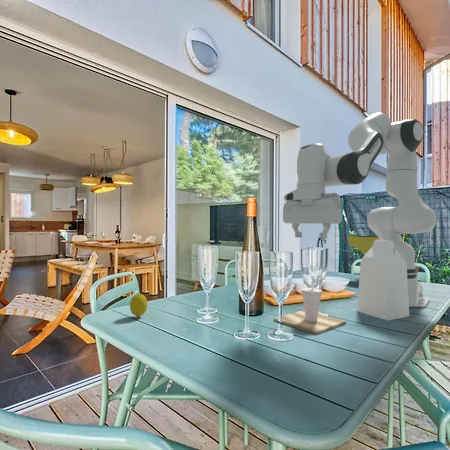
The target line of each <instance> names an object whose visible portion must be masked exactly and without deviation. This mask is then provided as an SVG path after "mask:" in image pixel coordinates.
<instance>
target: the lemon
mask: <svg viewBox="0 0 450 450" xmlns="http://www.w3.org/2000/svg"><path fill="white" fill-rule="evenodd" d="M129 308H130V312H131V313H132V314H133V315H134V316H136V317H137V318H140V317H141V316H143V315H144V314H145V313H146V312H147V308H148V299H147V298H146V296H145V295H144V294H141V292H137V294H134V295H133V297H131V299H130V303H129Z"/></svg>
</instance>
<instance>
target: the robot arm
mask: <svg viewBox="0 0 450 450" xmlns="http://www.w3.org/2000/svg"><path fill="white" fill-rule="evenodd" d="M423 127H424V126H423V124H422V123H421V122H420V121H419V120H418V119H415V118H411V119H410V118H409V119H404V120H401V121H396V122H392V119H391V118H390V117H389V115H387V114H385V113H383V112H376V113H372V114H370V115H368V116H366V117H365V118H363V119H362V120H361V121H359V123H357V124H356V125H355V126H354V127H353V128H352V129H351V130H350V132H349V134H348V136H347V144H348V147H349V148H350V150H351V152H347V153H343V154H338V155H334V156H332V155H329V154H328V152H326V151H325V146H324V144H322V143H319V142H317V143H312V144H311V143H310V144H307V145H304V146H301V147H300V148H299V150H298V153H297V160H296V175H297V183H296V188H295V189H294V190H292V191H290V192H288V193H286V194H285V195H284V196H283V200H284V201H285V202H284V203H283V207H282V221H283V223H284V224H291V226H292V227H291V228H292V229H293V232H294V237H295V238H302V237H303V235H302V234H303V232H302V231H300V229H299V227H300V224H319V225H320V224H322V227H323V230H322V232H319V239H326V240H327V238H328V233H329V232H330V229H331V228H332V226H331V224H336V225H337V224H338V225H339V224H341V222H342V221H343V213H342V206H341V205H342V197H341V195H339V194H337V192H332V193H331V192H330V193H326V188H327V187H338V186H345V185H360V184H362V183H363V182H364V180H365V179H366V178H367V176H368V175H369V172H370V169H371V166H372V164H374V162H375V160H376V159H377V157H378V156H379V155H386V154H388V158H387V161H386V163H387V164H386V170H385V171H386V173H385V174H386V175H385V192H386V194H387V195H389V196H391V197H392V198H395V199H396V200H397V204H398V205H397V206H381V207H378V208H377V207H376V208H375V209H371V210H370V211H369V212H368V214H367V217H366V223H367V226H368V228H369V229H370V230H371V231H372V232H373V233H374V234H375V236H378V237H379V239H380V240H389V241H393V244H394V246H395V249H396V250H397V251H398V252H399V253H400V255H401V256H402V257H403V258H404V259H405V261H406V264H407V280H408V299H409V308H411V307H413V308H426V306H427V305H428V304H429V302H430V298H429V297H426V296H424V287H423V285H422V284H421V282H420V281H419V280H418V278H417V277H418V275H417V274H419V268H418V267H417V268H416V266H415V265H416V260H415V259H416V251H415V249H414V247H413V246H412V245H411V244H409V243H407V242H405V241H404V240H403V238H402V234H411V235H412V234H414V235H417V234H423V233H430V232H432V230H433V229H434V228H435V227H436V224H437V218H438V217H437V215H436V212H435V210H433V209H432V208H431V207H430V206H428V205H427V204H426V203H425V202H424V201H423V200H422V199H421V196H420V194H419V191H418V157H417V153H416V150H417V149H418V147H419V146H420V144H421V143H422V142H423V139H424V135H425V134H424V132H425V131H424V128H423Z"/></svg>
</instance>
